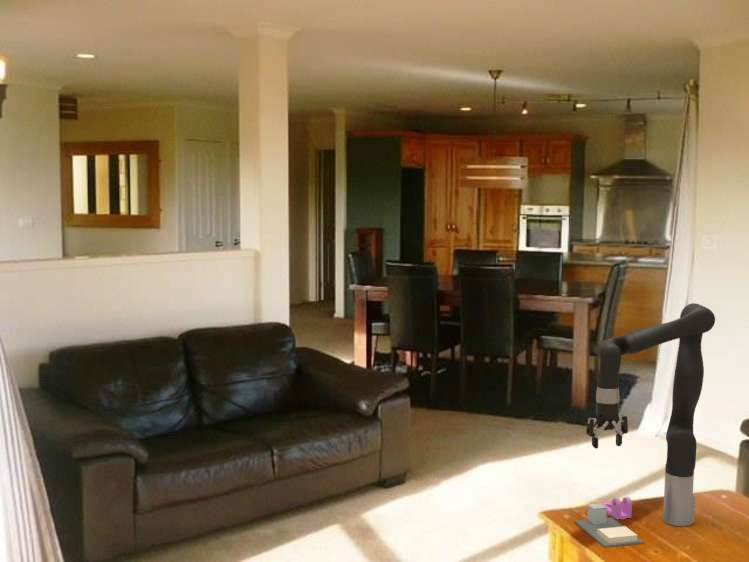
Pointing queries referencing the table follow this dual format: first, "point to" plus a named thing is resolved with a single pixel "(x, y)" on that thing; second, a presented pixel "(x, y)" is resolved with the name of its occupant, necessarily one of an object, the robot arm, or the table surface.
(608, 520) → the pad
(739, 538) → the table surface
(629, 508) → the bracket
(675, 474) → the robot arm
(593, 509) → the stub
